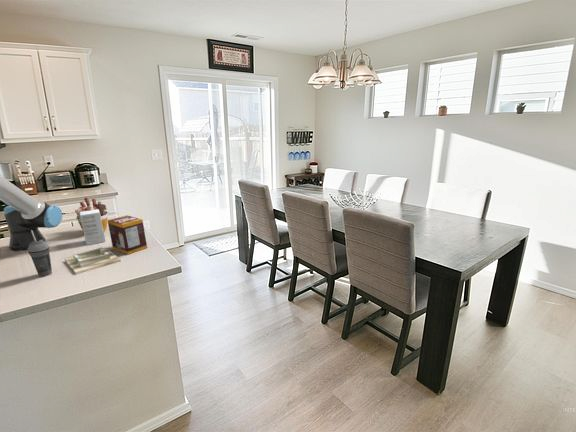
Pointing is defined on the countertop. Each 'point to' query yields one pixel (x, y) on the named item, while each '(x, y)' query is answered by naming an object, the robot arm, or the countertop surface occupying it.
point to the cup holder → (91, 260)
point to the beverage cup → (40, 256)
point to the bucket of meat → (95, 206)
